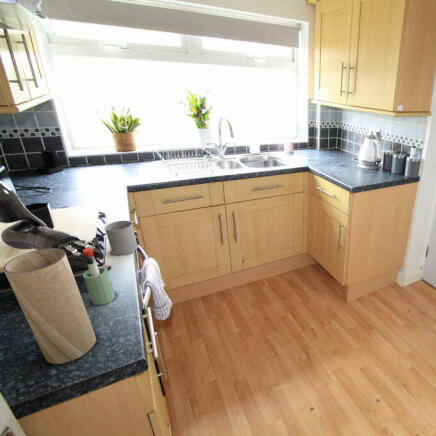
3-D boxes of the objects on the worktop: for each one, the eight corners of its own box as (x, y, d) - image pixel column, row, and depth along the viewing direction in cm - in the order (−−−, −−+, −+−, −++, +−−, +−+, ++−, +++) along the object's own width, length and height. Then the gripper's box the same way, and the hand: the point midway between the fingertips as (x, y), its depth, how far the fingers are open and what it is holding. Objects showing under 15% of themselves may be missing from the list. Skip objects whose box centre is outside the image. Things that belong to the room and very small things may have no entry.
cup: (138, 251, 118) (132, 227, 114) (112, 257, 114) (105, 232, 110) (136, 241, 125) (131, 218, 121) (112, 246, 121) (105, 223, 117)
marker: (100, 300, 92) (84, 252, 86) (96, 297, 93) (81, 250, 87) (108, 296, 94) (93, 249, 87) (104, 293, 95) (90, 246, 88)
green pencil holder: (97, 307, 90) (88, 280, 86) (88, 300, 93) (79, 273, 89) (118, 297, 95) (110, 270, 91) (109, 290, 98) (101, 264, 94)
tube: (72, 329, 83) (38, 245, 72) (105, 335, 81) (77, 251, 71) (33, 359, 74) (-11, 270, 63) (70, 367, 73) (31, 276, 62)
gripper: (24, 243, 85) (64, 258, 79) (79, 223, 97) (117, 235, 91) (34, 266, 88) (73, 283, 82) (85, 245, 100) (123, 258, 94)
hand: (96, 258), depth 87 cm, fingers closed on marker, 2 cm apart
